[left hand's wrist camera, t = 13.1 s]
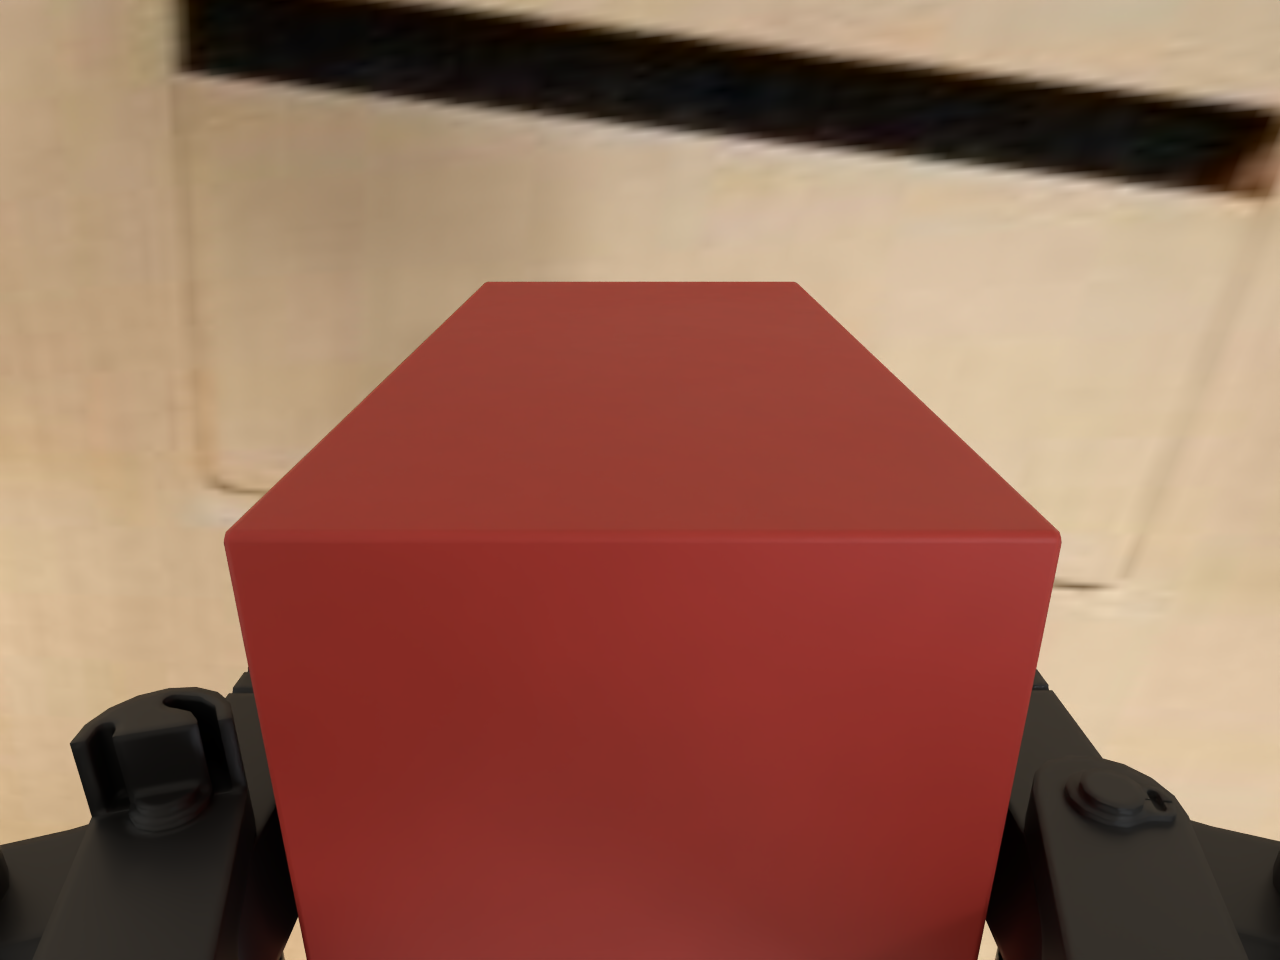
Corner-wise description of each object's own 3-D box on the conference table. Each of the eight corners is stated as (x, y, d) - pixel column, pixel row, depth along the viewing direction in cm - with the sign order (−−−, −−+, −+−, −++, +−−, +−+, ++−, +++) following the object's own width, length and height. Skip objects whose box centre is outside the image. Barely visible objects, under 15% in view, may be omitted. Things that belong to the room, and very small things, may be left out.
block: (483, 280, 15) (217, 533, 5) (797, 281, 15) (1067, 532, 5) (511, 693, 18) (372, 1302, 9) (770, 693, 18) (911, 1301, 9)
